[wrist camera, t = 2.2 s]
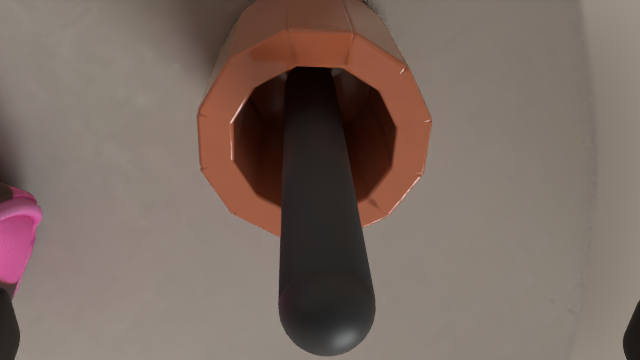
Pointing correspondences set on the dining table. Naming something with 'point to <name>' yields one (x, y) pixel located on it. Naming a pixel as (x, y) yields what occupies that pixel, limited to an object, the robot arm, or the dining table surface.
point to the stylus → (320, 224)
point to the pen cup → (269, 103)
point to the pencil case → (16, 234)
